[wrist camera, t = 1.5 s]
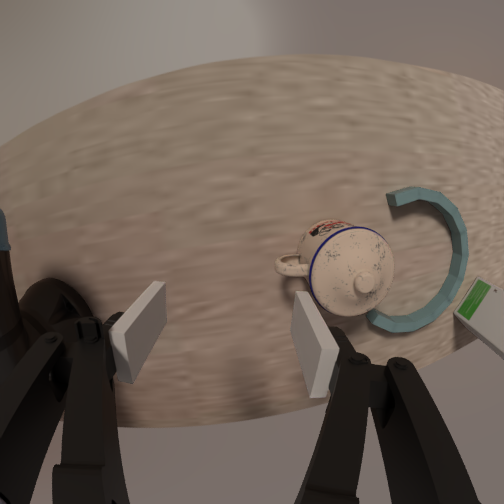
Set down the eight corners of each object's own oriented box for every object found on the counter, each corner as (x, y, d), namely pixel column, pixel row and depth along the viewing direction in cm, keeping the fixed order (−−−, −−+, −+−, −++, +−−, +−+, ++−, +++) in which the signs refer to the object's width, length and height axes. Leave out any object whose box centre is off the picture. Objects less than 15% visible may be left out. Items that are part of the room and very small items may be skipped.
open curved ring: (363, 325, 36) (369, 333, 34) (386, 182, 32) (395, 182, 30) (441, 321, 37) (449, 327, 34) (466, 200, 32) (475, 201, 30)
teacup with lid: (364, 217, 33) (414, 232, 22) (359, 286, 35) (400, 325, 24) (270, 216, 33) (283, 232, 21) (270, 289, 35) (281, 336, 23)
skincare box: (477, 274, 35) (539, 306, 20) (489, 293, 36) (544, 325, 21) (451, 314, 37) (509, 358, 21) (464, 330, 38) (516, 372, 22)
